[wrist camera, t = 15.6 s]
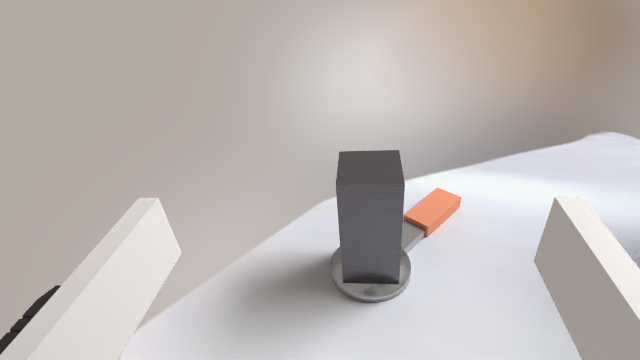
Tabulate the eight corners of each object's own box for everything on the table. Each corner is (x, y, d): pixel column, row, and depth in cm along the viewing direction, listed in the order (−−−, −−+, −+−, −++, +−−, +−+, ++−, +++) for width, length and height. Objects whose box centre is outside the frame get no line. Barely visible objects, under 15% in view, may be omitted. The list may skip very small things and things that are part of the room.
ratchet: (376, 318, 37) (376, 292, 35) (315, 273, 42) (312, 248, 40) (479, 213, 49) (484, 189, 47) (422, 189, 54) (423, 166, 52)
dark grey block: (345, 244, 44) (339, 151, 37) (395, 244, 44) (399, 150, 36) (342, 283, 39) (335, 184, 32) (399, 284, 39) (404, 183, 31)
